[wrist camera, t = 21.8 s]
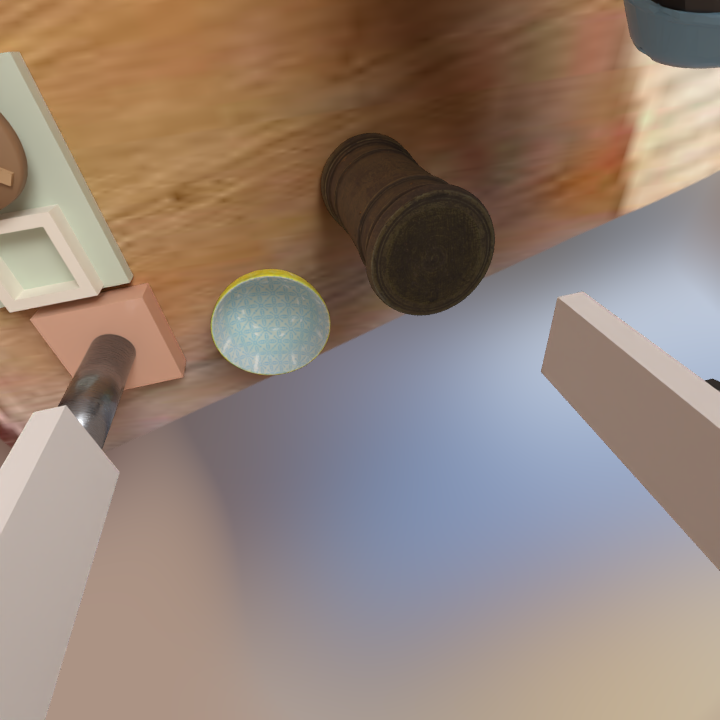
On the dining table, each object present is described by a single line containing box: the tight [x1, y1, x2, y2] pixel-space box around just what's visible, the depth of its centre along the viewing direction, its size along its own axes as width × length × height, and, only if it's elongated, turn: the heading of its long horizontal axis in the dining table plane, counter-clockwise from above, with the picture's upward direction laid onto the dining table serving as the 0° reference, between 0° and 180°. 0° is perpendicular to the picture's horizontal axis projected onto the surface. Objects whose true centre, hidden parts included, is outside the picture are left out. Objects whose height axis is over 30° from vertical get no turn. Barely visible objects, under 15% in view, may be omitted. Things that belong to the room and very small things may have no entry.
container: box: [321, 133, 495, 315], centre depth 32 cm, size 9×9×18 cm
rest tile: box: [30, 283, 186, 390], centre depth 42 cm, size 10×10×3 cm
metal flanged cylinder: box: [58, 334, 136, 449], centre depth 35 cm, size 5×5×15 cm
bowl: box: [211, 269, 330, 375], centre depth 42 cm, size 11×12×6 cm
